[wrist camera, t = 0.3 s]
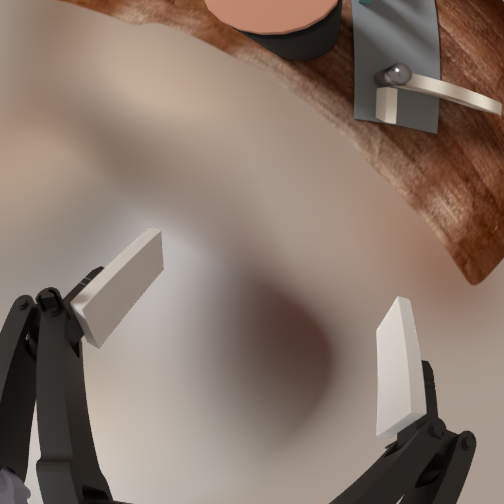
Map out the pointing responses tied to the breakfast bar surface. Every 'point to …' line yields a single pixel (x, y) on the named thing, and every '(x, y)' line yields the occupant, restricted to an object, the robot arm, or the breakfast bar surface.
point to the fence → (386, 104)
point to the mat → (396, 57)
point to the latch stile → (365, 1)
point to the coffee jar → (284, 24)
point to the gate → (451, 93)
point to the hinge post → (393, 75)
